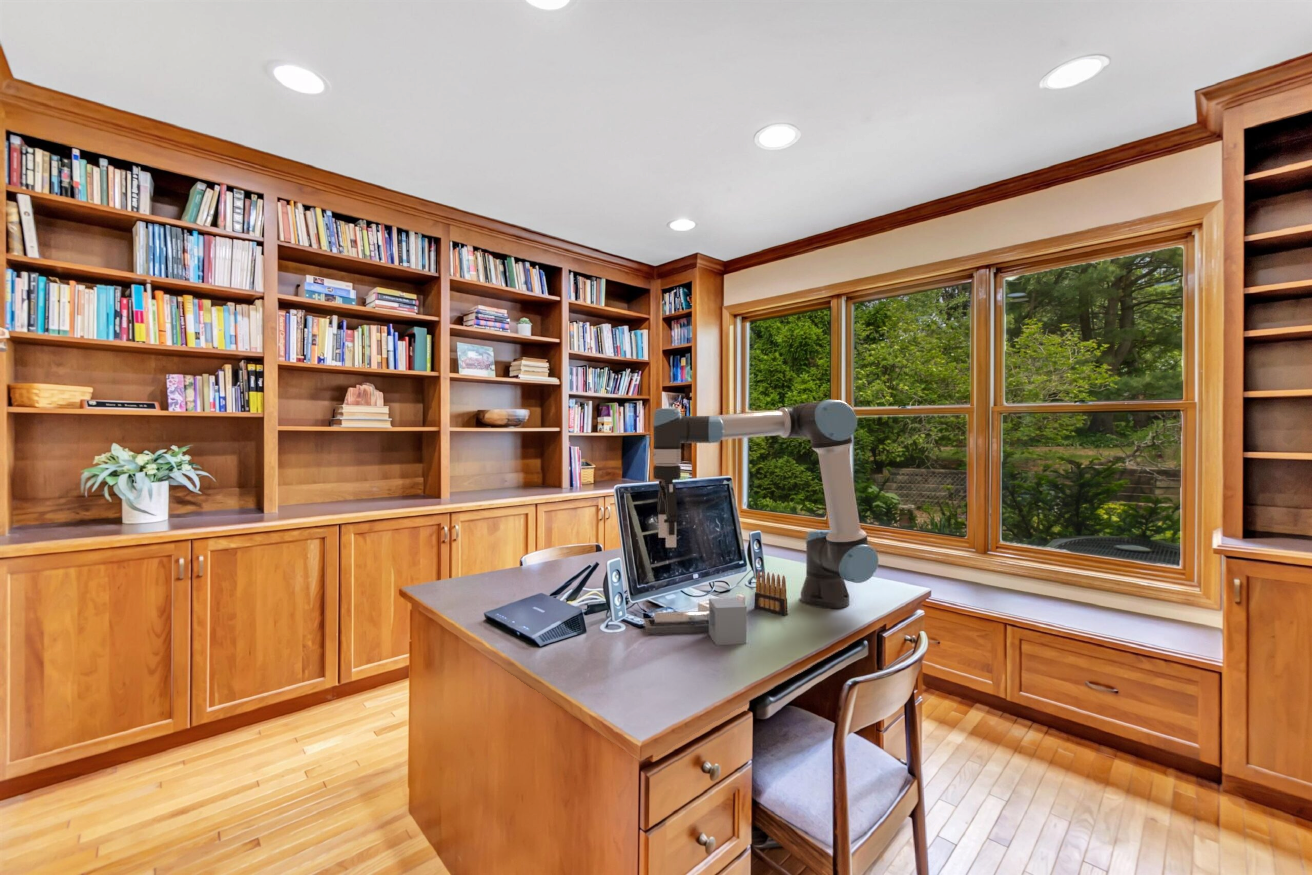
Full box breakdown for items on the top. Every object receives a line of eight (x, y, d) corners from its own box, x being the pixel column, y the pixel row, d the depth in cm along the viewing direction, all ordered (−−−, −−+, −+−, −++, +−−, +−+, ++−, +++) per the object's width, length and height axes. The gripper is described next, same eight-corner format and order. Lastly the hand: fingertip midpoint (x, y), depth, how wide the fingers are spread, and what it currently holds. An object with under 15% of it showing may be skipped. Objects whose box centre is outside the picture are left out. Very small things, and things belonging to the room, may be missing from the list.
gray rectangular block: (737, 632, 149) (737, 597, 149) (746, 643, 141) (746, 606, 141) (708, 633, 148) (709, 598, 148) (716, 644, 140) (716, 607, 140)
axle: (709, 621, 155) (710, 608, 155) (713, 627, 151) (713, 613, 151) (653, 623, 153) (653, 610, 153) (655, 629, 149) (655, 616, 149)
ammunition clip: (753, 608, 170) (754, 569, 170) (757, 607, 172) (757, 568, 172) (784, 616, 163) (784, 576, 163) (787, 615, 164) (788, 575, 164)
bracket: (745, 622, 158) (745, 596, 158) (726, 627, 154) (726, 600, 154) (716, 610, 169) (716, 585, 169) (697, 614, 165) (698, 589, 165)
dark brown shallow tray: (717, 622, 157) (717, 615, 157) (724, 631, 150) (724, 624, 150) (644, 625, 154) (644, 618, 154) (647, 634, 147) (647, 627, 147)
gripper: (647, 462, 163) (647, 534, 163) (659, 467, 138) (659, 551, 138) (672, 462, 164) (672, 533, 164) (689, 467, 139) (689, 551, 139)
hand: (666, 542), depth 151 cm, fingers open, 13 cm apart
